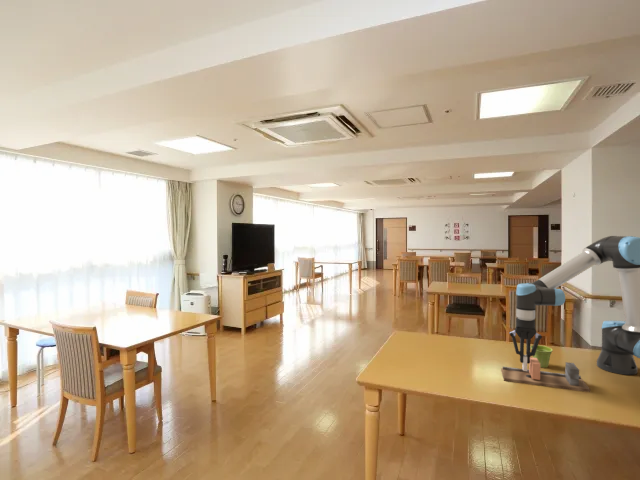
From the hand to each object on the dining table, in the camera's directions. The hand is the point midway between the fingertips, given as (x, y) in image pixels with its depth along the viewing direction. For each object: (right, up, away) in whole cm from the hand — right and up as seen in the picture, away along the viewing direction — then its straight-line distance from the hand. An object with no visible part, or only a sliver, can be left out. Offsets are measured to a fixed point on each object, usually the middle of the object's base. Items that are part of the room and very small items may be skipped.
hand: (524, 369), depth 164 cm
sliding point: (+4, -2, -1) cm, 4 cm away
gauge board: (+7, -4, -2) cm, 8 cm away
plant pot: (+17, -4, +15) cm, 23 cm away
